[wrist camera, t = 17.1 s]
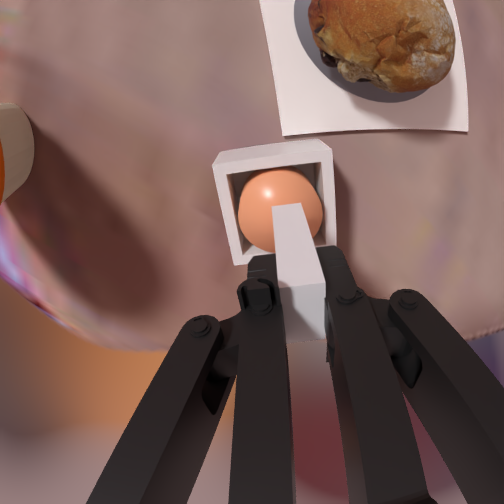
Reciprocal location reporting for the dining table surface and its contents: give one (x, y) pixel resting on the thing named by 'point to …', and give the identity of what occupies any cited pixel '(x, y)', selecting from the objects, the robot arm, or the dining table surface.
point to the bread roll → (385, 41)
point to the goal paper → (350, 84)
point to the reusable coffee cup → (14, 149)
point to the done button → (275, 203)
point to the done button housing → (268, 156)
